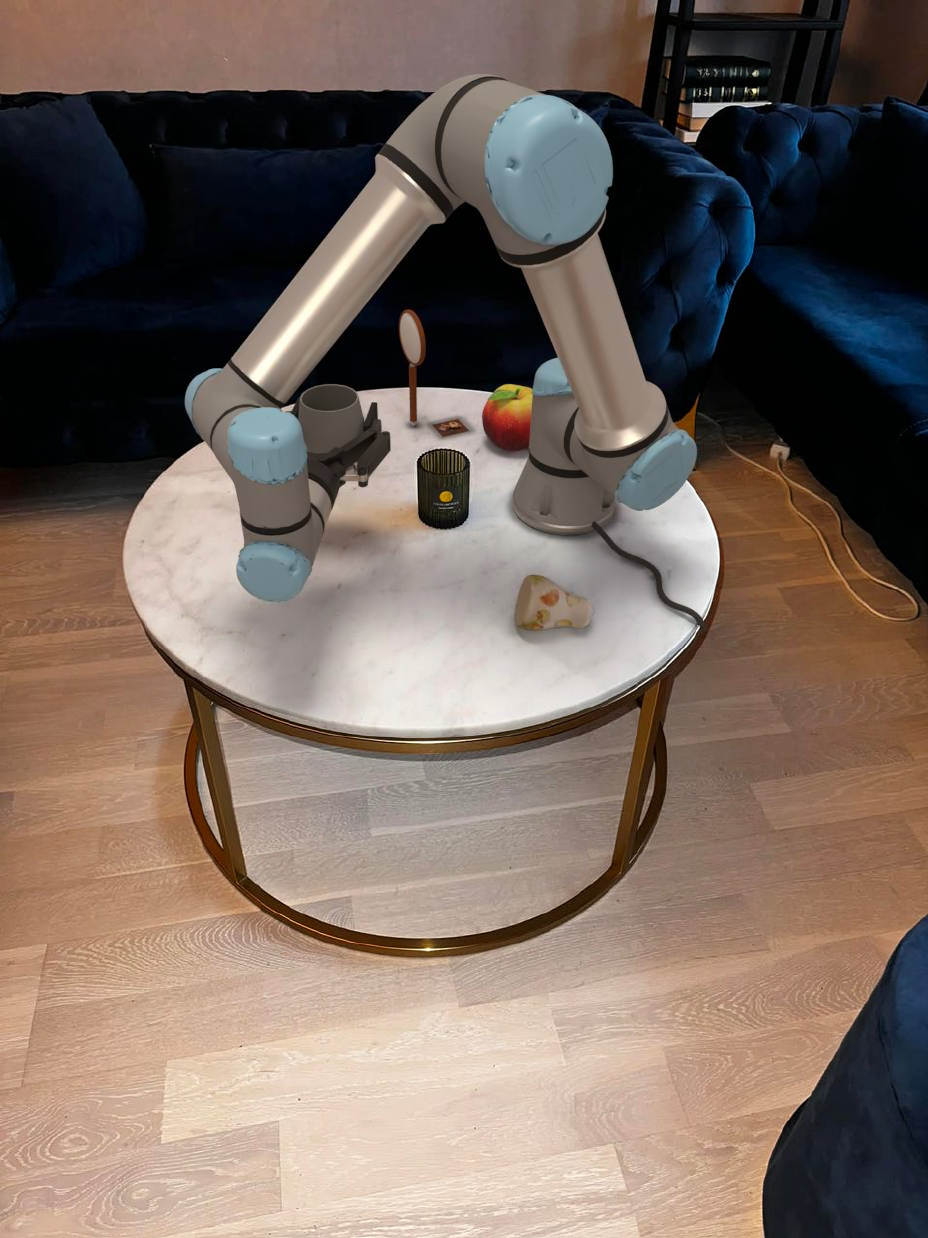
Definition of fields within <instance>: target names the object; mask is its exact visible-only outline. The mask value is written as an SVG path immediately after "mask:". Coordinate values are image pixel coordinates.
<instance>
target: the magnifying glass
mask: <svg viewBox="0 0 928 1238" xmlns="http://www.w3.org/2000/svg"><path fill="white" fill-rule="evenodd" d="M398 336H399V341H400V344H401V348H402V352H403V354H404V356H405V358H406V360H407V361H408V362H409V364H408V388H409V390H408V391H409V421H410V422H411V423H410V424H411V426H413V427H415V426H416V425H417V421H418V396H417V395H418V394H417V391H418V390H417V366H420V365H422V364H423V362H424V361H425V357H426V351H427V349H426V348H427V345H426V343H427V342H426V337H425V332H424V328H423V325H422V323H421V320H420V318H419V316H418V315H417V314H416V312H415V311H414V310H412V309H404V310H403V311H402V312H401V313H400V316H399V321H398Z"/></svg>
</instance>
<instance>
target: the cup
mask: <svg viewBox="0 0 928 1238" xmlns="http://www.w3.org/2000/svg"><path fill="white" fill-rule="evenodd" d="M299 398H300V404H299V417H298V421H299V422H300V424H301V427H302V432H303V437H304V442H305V444H306V447H307V452H312V453H328V452H329V451H331V450H332V449H334V448H335V447H337V448H341V447H342V446H344V445H345V444H347V443H348V442H350V441H351V440H353V439H354V438H356V437H357V436H359V435H360V434H362V433H363V432H364V431H363V425H364V422H365V417H364V413H363V408H362V405H361V401H360V397H359V393H358V392H357V391H356V390H355V389H354V388H353V387H349V386H347V385H344V384H342V385H341V384H338V383H337V384H336V383H334V384H333V383H331V384H330V383H325V384H320V385H315V386H313V387H310V388H308V389H306V390H305V391H303V392H302V393H301V395H300V397H299ZM357 463H358V461H357ZM352 467H354V464H353V465H352V466H350V467H349V468H348V469H347V471H348V470H350V469H351V468H352Z"/></svg>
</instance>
